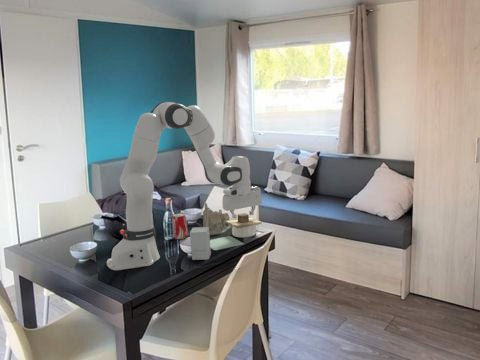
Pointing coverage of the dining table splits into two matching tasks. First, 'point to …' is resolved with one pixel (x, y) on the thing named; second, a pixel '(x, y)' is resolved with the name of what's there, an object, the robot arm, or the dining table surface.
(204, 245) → the supplement box
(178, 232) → the soda can
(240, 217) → the lid
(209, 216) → the ceramic cottage
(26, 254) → the dining table surface
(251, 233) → the pipe section
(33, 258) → the dining table surface
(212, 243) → the mat
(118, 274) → the dining table surface
